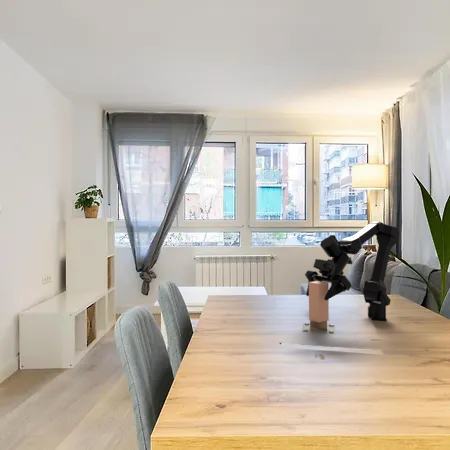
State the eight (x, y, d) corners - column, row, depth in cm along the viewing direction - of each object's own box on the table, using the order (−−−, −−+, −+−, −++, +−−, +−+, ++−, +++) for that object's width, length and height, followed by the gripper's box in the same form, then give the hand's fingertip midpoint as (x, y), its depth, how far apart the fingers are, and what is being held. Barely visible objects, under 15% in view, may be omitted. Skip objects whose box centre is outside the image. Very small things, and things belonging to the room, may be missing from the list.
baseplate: (335, 328, 150) (335, 324, 150) (335, 337, 139) (335, 332, 139) (303, 326, 154) (303, 322, 154) (301, 335, 142) (301, 330, 142)
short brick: (327, 326, 148) (327, 318, 148) (327, 331, 143) (327, 322, 142) (310, 325, 150) (310, 317, 150) (310, 329, 144) (310, 321, 144)
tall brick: (318, 317, 150) (318, 280, 149) (328, 320, 145) (328, 282, 145) (309, 319, 147) (308, 282, 147) (318, 322, 143) (318, 283, 143)
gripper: (308, 249, 156) (287, 280, 150) (345, 252, 140) (323, 287, 134) (322, 268, 160) (302, 298, 154) (360, 273, 144) (339, 307, 139)
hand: (315, 297), depth 145 cm, fingers open, 9 cm apart
